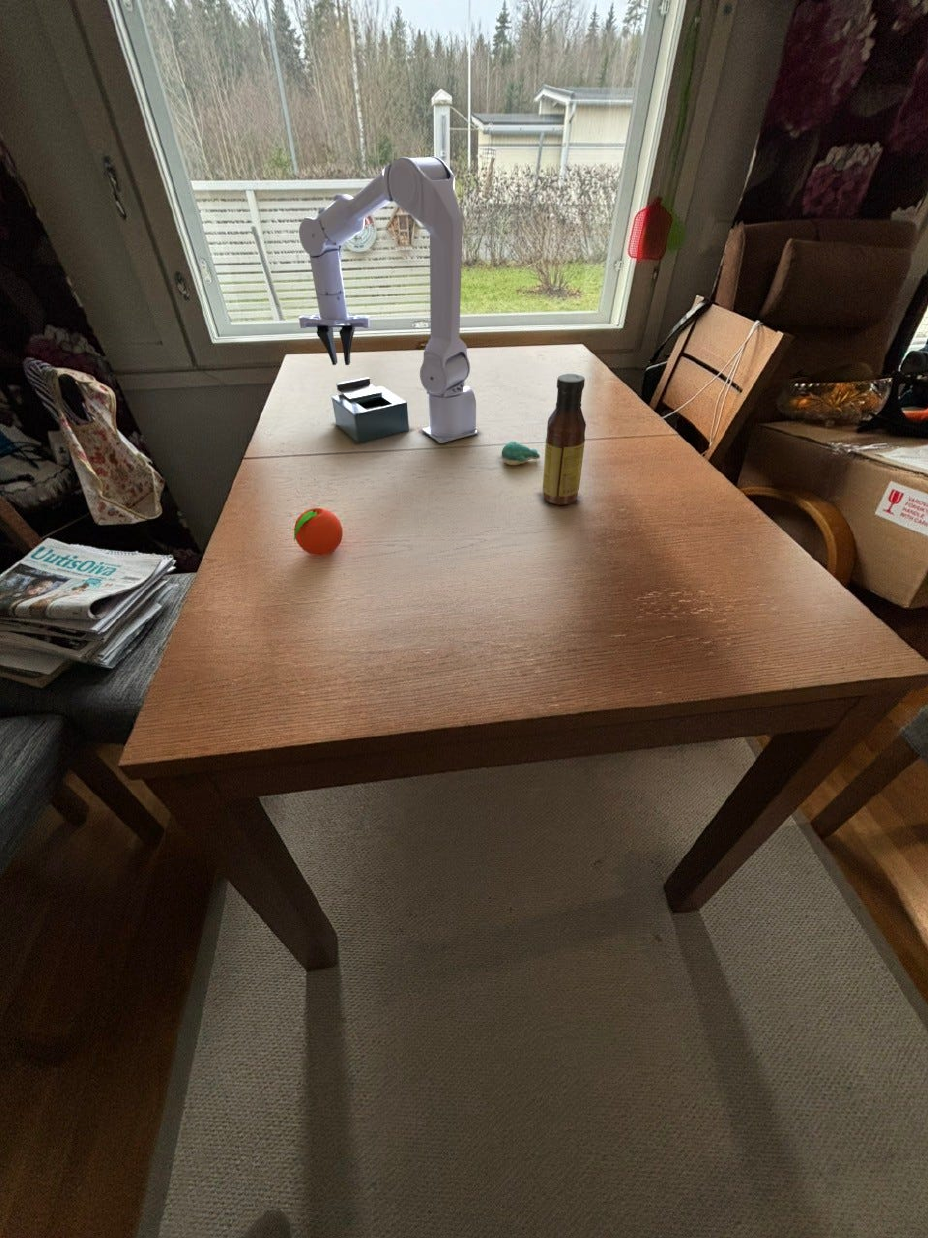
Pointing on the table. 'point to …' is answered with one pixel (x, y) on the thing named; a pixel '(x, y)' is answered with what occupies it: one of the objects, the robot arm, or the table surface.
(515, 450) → the whale figurine
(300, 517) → the clementine
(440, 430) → the robot arm
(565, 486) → the sauce bottle
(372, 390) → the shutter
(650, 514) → the table surface
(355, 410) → the sliding lid box
